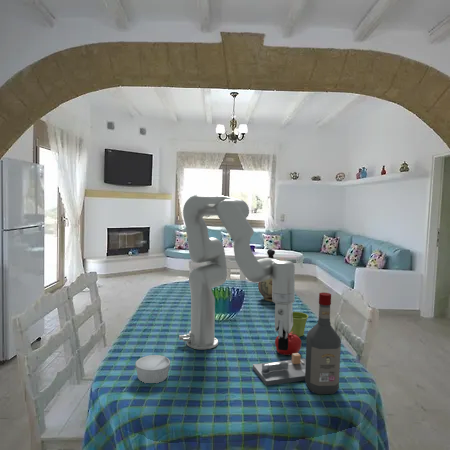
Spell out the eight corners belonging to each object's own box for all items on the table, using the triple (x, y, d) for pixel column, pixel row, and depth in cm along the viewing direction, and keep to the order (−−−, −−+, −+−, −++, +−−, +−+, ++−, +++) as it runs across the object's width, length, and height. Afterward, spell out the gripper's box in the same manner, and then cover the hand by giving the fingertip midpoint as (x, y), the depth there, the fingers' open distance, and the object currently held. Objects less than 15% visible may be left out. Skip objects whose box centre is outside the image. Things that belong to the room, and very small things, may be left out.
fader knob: (294, 364, 130) (294, 355, 130) (291, 361, 132) (291, 353, 132) (300, 363, 131) (300, 354, 131) (297, 361, 133) (298, 352, 133)
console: (266, 385, 119) (266, 379, 119) (252, 368, 130) (252, 362, 130) (322, 377, 124) (322, 371, 124) (304, 362, 136) (304, 356, 136)
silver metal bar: (263, 373, 123) (263, 366, 123) (260, 369, 125) (260, 363, 125) (289, 369, 126) (289, 363, 125) (285, 366, 128) (286, 360, 128)
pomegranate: (298, 360, 138) (299, 336, 137) (272, 355, 142) (272, 331, 141) (302, 349, 147) (303, 326, 146) (277, 345, 151) (278, 322, 150)
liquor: (341, 394, 114) (345, 298, 112) (311, 395, 114) (315, 298, 111) (330, 379, 123) (334, 290, 121) (303, 380, 123) (306, 290, 120)
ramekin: (172, 383, 119) (172, 367, 119) (136, 388, 116) (136, 371, 116) (167, 368, 130) (167, 353, 129) (134, 371, 127) (134, 356, 126)
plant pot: (307, 339, 158) (308, 319, 157) (285, 337, 159) (285, 317, 159) (307, 331, 167) (308, 312, 166) (286, 329, 169) (286, 311, 168)
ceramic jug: (258, 295, 226) (259, 246, 224) (284, 296, 224) (285, 247, 222) (256, 303, 210) (258, 250, 207) (284, 304, 207) (286, 251, 205)
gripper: (291, 303, 120) (290, 359, 121) (297, 292, 134) (297, 342, 136) (268, 301, 123) (268, 356, 124) (276, 291, 137) (276, 340, 138)
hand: (283, 349), depth 130 cm, fingers closed
